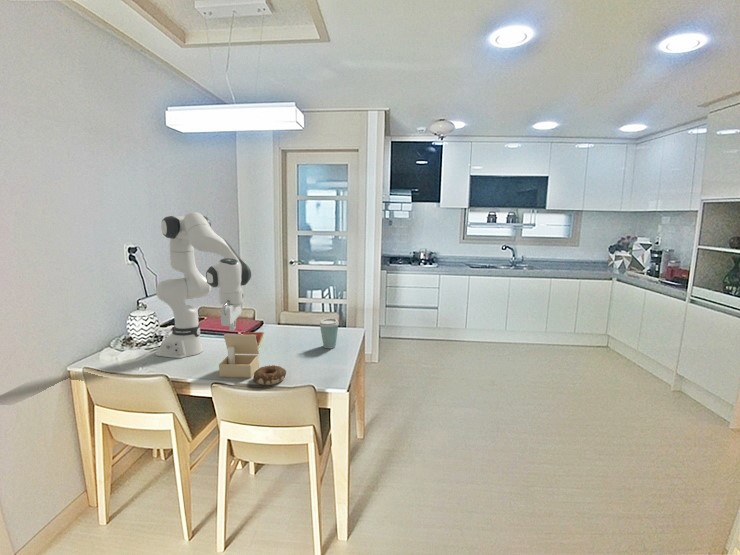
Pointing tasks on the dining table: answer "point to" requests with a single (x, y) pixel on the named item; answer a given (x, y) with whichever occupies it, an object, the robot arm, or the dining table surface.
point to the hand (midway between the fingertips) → (232, 330)
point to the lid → (242, 343)
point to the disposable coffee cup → (329, 332)
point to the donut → (269, 375)
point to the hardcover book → (258, 337)
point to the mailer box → (238, 365)
